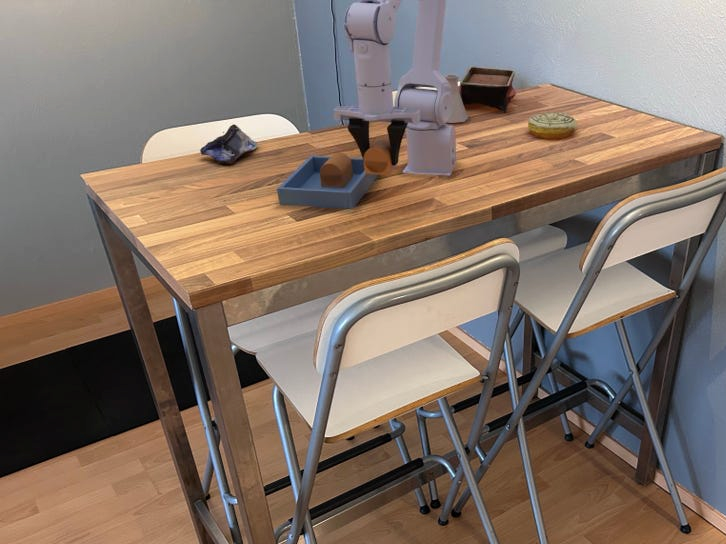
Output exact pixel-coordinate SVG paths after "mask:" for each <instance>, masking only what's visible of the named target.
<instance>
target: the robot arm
mask: <svg viewBox="0 0 726 544" xmlns="http://www.w3.org/2000/svg"><path fill="white" fill-rule="evenodd" d="M402 2H403V0H359V1H358V2H357V1H356V2H353V3H352V4H350V5H349V6H348V7H347V8H346V10H345V13H344V18H343V20H344V21H343V22H344V23H343V31H344V34H345V36H346V38H347V40H348V43H349V51H350V52H351V54H353V56H354V57H353V59H354V69H355V78H356V86H357V87H356V88H357V89H356V90H357V99H358V100H357V101H358V105H347V106H346V105H345V106H343V105H342V106H340V105H338V106H336V107H335V108H334V109H333V116H334V117H333V118H334V121H335V122H342V121H348V125H347V126H346V127H347V131H348V133H349V134H350V135H351V137H352V138H353V140H354V142H355V143H356V146H357V147H358V150H359V152H360V154H361V158H363V161H364V154H365V153H366V151H367V150H368V149H369V148H370V147H371V142H370V122H379V123H390V124H388V126H387V127H386V131H387V135H388V138H389V141H390V149H391V163H392V165H396V164H397V163H398V164H399V158H400V157H399V156H400V150H401V145H402V141H403V138H404V135H405V134H406V135H405V136H406V151H407V152H406V154H407V165H406V166H405V168H404V169H403V171H402V173H404V174H419V175H421V174H422V175H438V176H446V177H447V178H448V177H450V176H451V175H452V173H453V171H454V170H455V168H456V166H457V163H458V161H457V146H456V145H457V143H456V139H457V138H456V129H455V126H454V125H449V124H447V121H448V120H449V118H450V116H451V112H452V100H451V85H450V83H449V82H448V81H447V80H446V78H445V76H444V75H442V74H441V72H440V65H441V64H440V63H441V54H442V43H443V36H444V35H443V33H444V25H445V14H446V5H447V4H446V3H447V0H418V5H417V15H416V26H415V36H414V46H413V58H412V66H411V67H412V68H411V69H410V70H409V71H407V72H406V73H405V74H404V75H402V76H401V77H400V78H399V80H398V81H399V82H398V87H397V91H396V93H395V97H394V94H393V84H392V83H393V82H392V69H391V55H390V42H391V41H392V39H393V37H394V34H395V26H396V21H397V17H398V16H397V12H398V9H399V8H400V6H401V4H402ZM419 87H420V88H419ZM429 88H430V89H429ZM431 88H433V89H431ZM398 164H397V165H398ZM397 165H396V166H397Z"/></svg>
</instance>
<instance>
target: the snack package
mask: <svg viewBox="0 0 726 544" xmlns="http://www.w3.org/2000/svg"><path fill="white" fill-rule="evenodd" d="M222 134H223V135H219V136H218V137H215V139H213V140H211V141H209V142H207V143H206V144H205V145H203V146H202V147H201V148H200V150H199V151H200V154H201V155H202V156H210V157H211V158H213V159H214V161H215V162H216V163H218V164H223V165H224V164H227V165H233V164H234V163H235V161H236V160H237V159H239V158H240V157H241V156H242V155H244V154H245V153H248V152H251V151H254V150H255V149H256V148H257V147H258V145H259V143H258V142H257V141H255V140H253V139H252V138H251V137H250V136H249V135H248V134H246V133H245V132H244V131H243V130H242V129H241V128H240V127H239V126H238V125H236V124H235V123H234V124H231V125H230V126H229V127H228V129H227V131H223V132H222ZM205 159H206V158H205V157H204V158H203V160H205Z"/></svg>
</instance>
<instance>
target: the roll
mask: <svg viewBox="0 0 726 544" xmlns="http://www.w3.org/2000/svg"><path fill="white" fill-rule="evenodd" d="M329 157H330V158H329V159H328V161H327V162H326V163H325V164H324V165H323V166H322V167H321V169H320V180H321V187H338V188H344V187H345V186H346V185H347V183H348V182H349V181H350V180H351V178H352V177H353V169H352V162H351V160H350V158H351V157H349V156H348V155H347V154H345V153H343V152H335V153H333V154H332V155H331V156H329Z"/></svg>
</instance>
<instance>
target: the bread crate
mask: <svg viewBox="0 0 726 544" xmlns="http://www.w3.org/2000/svg"><path fill="white" fill-rule="evenodd" d="M330 157H331V156H326V155H325V156H324V155H310V156H309V157H307V159H305V160H304V161H303V162H302V163H301V165H299V166H298V167H297V168H296V169H295V170H294V171H293V172H292V173H291V174H290V175H289V176H288V177H287V178H286V179H285V180H284V181H283V182H282V183H280V185H278V187H276V193H277V198H278V204H279V206H292V207H294V206H295V207H309V208H328V209H342V210H343V209H345V210H353V209H354V208H355V207H356V205H357V204H358V203H359V202H360V200H361V199H362V198H363V196H364V195H365V194H366V193H367V191H368V190H369V189H370V187H371V186H372V184H373V183H374V182H375V180H376V179H377V178H378V177H379V175H380V174H365V170H364V161H363V158H362V157H349V158H350V160H351V162H352V169H353V177H352V178H351V180H350V181H349V182H348V183H347V185H346V186H345V187H344V188H338V187H321V180H320V169H321V167H322V166H323V165H324V164H325V163H326V162H327V161H328V159H329V158H330Z"/></svg>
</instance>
